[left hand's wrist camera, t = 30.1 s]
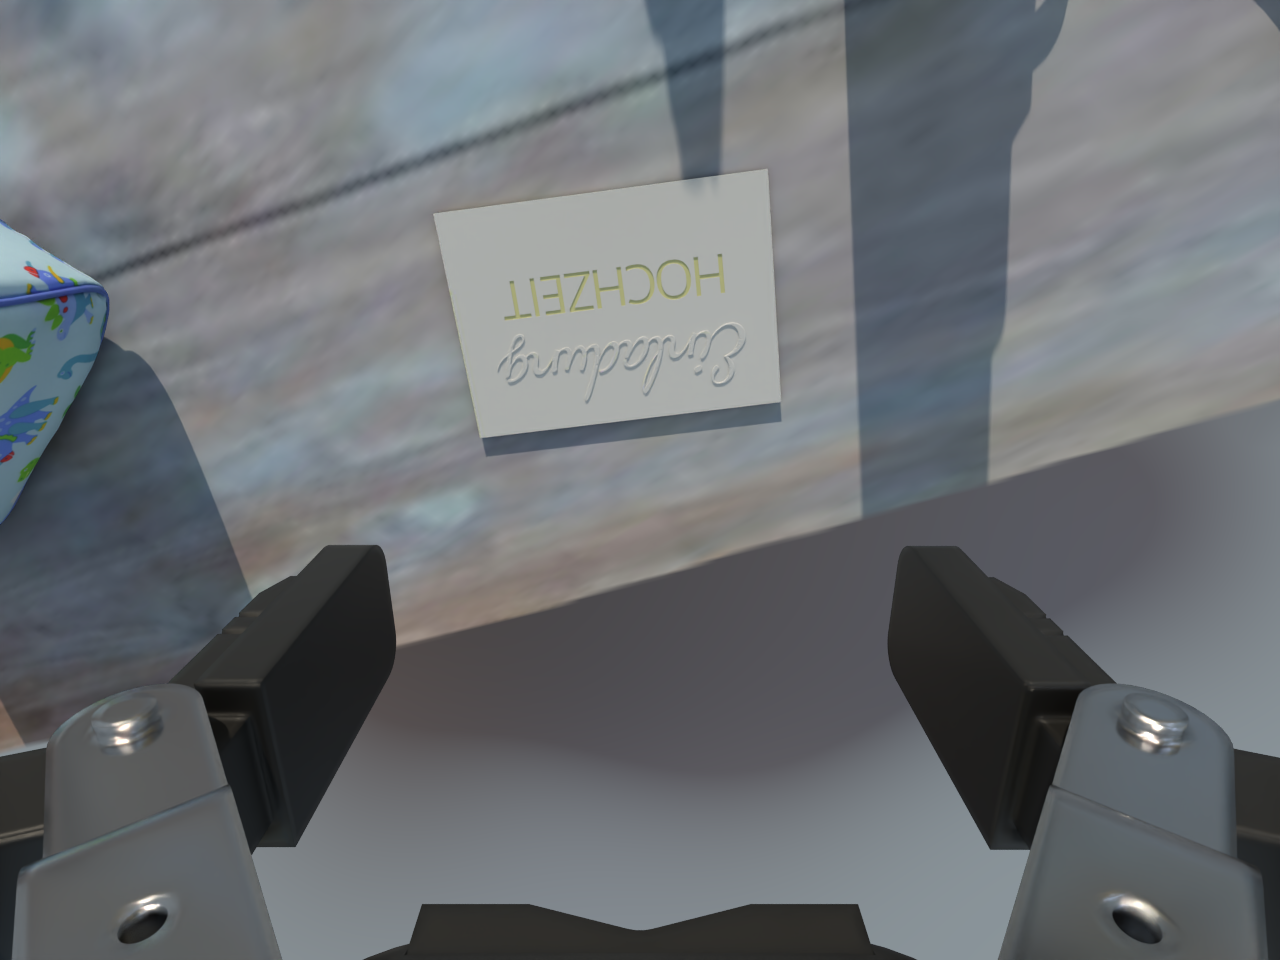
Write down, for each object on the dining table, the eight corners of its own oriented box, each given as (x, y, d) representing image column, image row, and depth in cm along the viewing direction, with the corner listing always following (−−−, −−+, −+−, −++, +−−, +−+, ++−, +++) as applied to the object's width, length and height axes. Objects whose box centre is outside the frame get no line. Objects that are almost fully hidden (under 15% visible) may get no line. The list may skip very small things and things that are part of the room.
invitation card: (768, 168, 44) (781, 402, 50) (767, 168, 45) (780, 401, 50) (432, 213, 45) (479, 438, 50) (434, 213, 46) (480, 437, 51)
